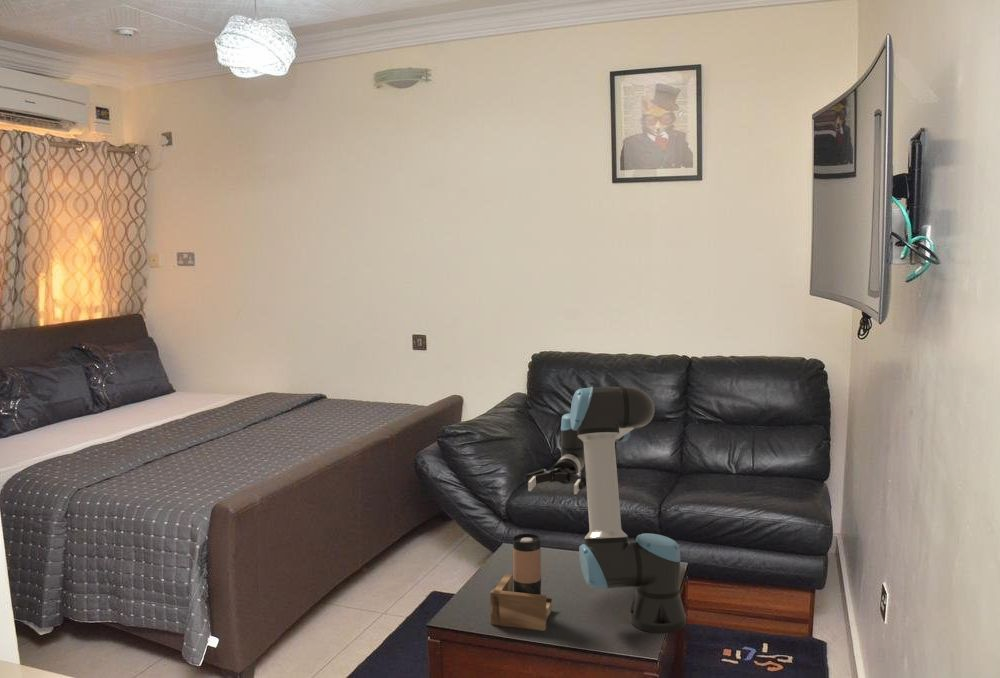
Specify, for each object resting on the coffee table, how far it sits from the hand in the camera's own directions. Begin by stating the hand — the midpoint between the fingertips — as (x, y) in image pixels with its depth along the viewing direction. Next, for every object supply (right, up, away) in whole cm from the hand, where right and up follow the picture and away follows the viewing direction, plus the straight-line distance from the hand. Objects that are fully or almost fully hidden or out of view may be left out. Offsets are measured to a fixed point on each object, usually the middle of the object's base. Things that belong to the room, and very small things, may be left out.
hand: (552, 488), depth 242 cm
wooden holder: (-7, -34, -12) cm, 36 cm away
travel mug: (-8, -31, -12) cm, 34 cm away
